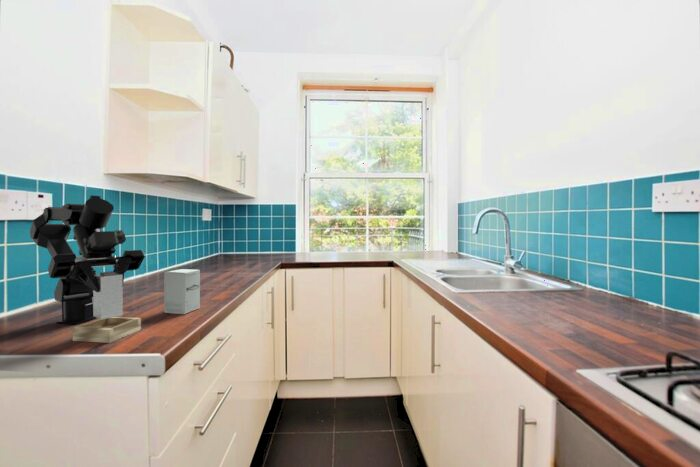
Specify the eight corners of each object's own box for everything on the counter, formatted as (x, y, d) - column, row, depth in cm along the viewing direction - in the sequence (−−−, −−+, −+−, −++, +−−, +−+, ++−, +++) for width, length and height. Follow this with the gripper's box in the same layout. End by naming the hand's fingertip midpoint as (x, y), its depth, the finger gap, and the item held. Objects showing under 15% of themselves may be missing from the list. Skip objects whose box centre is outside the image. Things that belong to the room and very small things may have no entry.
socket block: (93, 316, 80) (93, 272, 80) (114, 312, 84) (114, 270, 83) (101, 319, 77) (100, 274, 77) (122, 315, 81) (122, 272, 81)
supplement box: (185, 314, 99) (184, 272, 98) (163, 313, 100) (163, 271, 100) (200, 308, 106) (200, 269, 105) (180, 307, 107) (180, 268, 107)
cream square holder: (72, 340, 77) (72, 327, 76) (107, 327, 86) (107, 316, 86) (109, 342, 75) (109, 329, 75) (141, 329, 85) (140, 318, 85)
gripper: (51, 219, 74) (69, 273, 68) (141, 220, 90) (162, 264, 84) (41, 251, 79) (57, 304, 73) (128, 247, 94) (147, 290, 89)
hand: (110, 289), depth 80 cm, fingers closed on socket block, 4 cm apart
